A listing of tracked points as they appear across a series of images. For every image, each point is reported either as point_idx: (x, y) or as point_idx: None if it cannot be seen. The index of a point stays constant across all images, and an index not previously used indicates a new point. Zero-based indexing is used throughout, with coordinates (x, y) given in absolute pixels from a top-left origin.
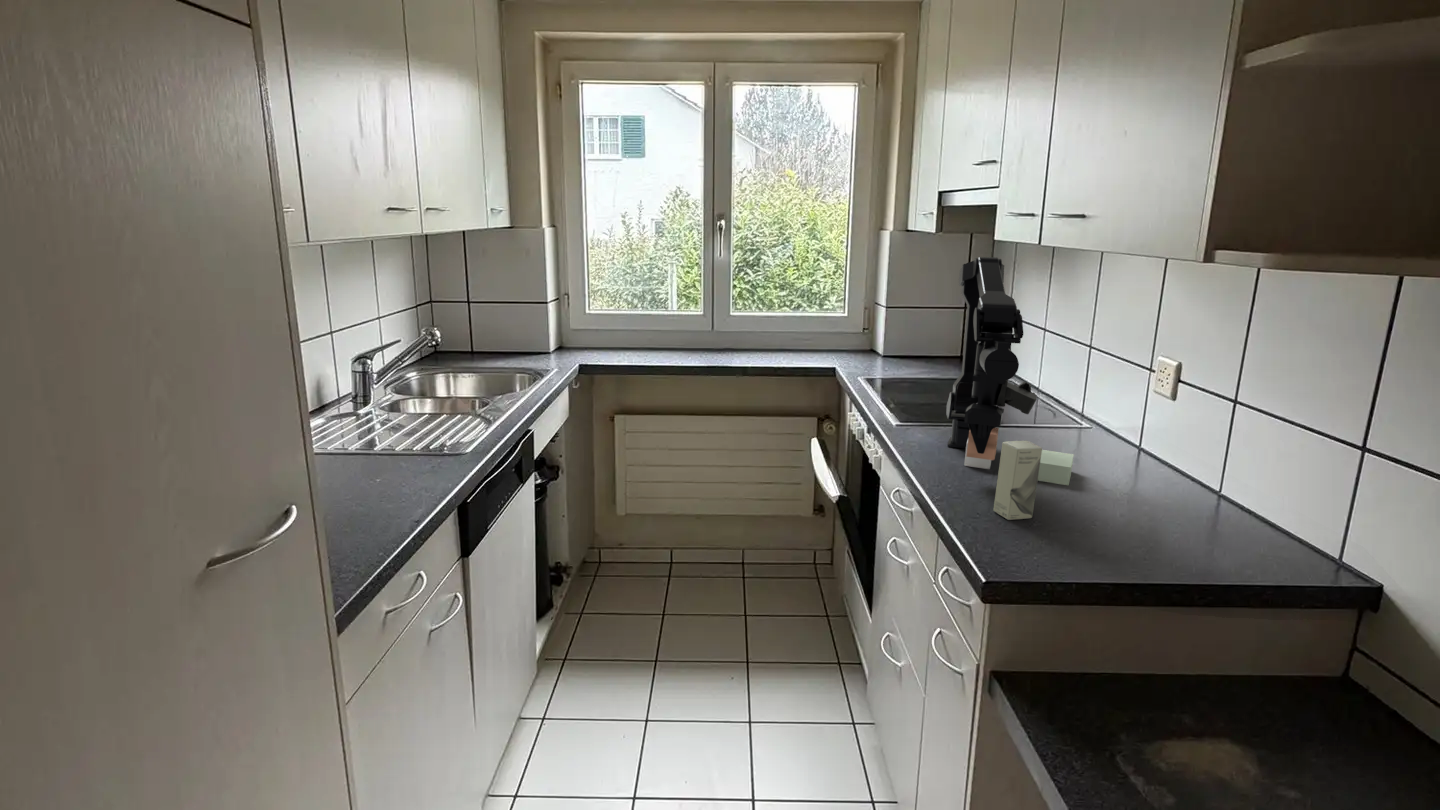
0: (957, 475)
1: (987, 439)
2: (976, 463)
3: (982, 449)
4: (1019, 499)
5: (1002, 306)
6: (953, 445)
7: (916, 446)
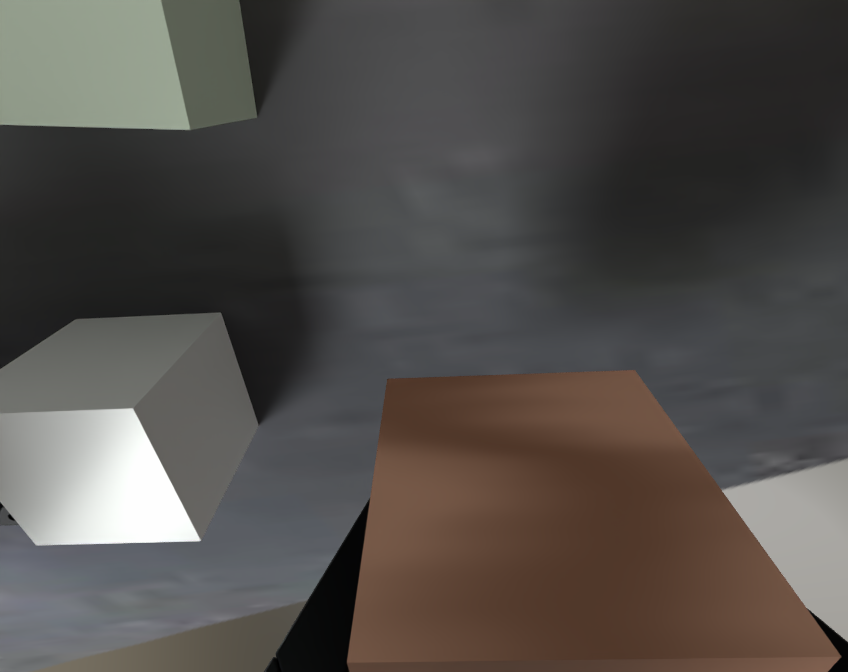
0: None
1: (845, 645)
2: (233, 390)
3: None
4: None
5: None
6: None
7: (145, 587)
